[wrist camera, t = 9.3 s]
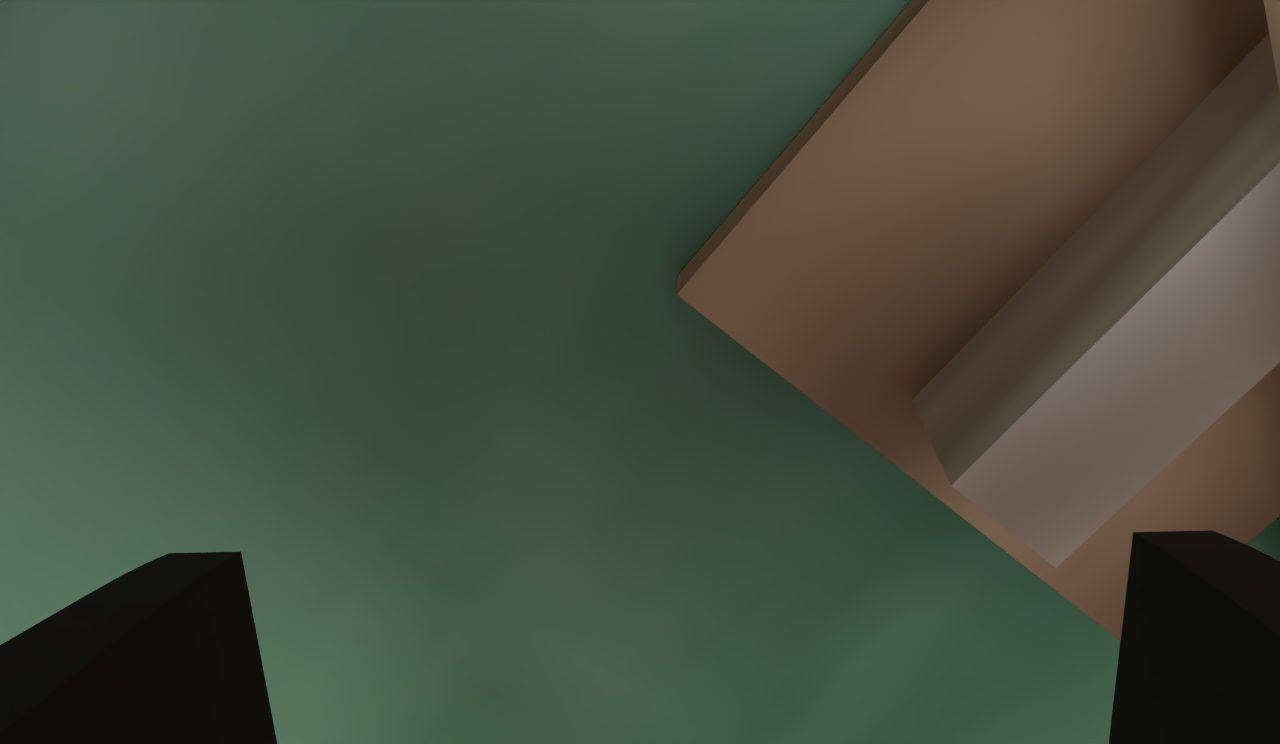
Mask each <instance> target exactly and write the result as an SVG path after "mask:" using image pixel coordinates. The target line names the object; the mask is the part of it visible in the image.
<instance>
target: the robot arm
mask: <svg viewBox="0 0 1280 744" xmlns="http://www.w3.org/2000/svg"><path fill="white" fill-rule="evenodd" d="M0 744H277V740H276V735H275V730H274V724H273V719H272V714H271V709H270V703H269V698H268V693H267V687H266V682H265V677H264V671H263V666H262V661H261V656H260V650H259V645H258V640H257V634H256V629H255V624H254V618H253V613H252V608H251V603H250V597H249V592H248V587H247V581H246V576H245V571H244V565H243V560H242V555H241V552H209V553H169V554H166V555H164V556H162V557H160V558H157V559H155V560H153V561H150V562H148V563H146V564H144V565H142V566H140V567H138V568H136V569H134V570H132V571H130V572H128V573H126V574H124V575H122V576H120V577H119V578H117V579H115V580H113V581H111V582H109V583H108V584H106V585H104V586H102V587H100V588H99V589H97V590H95V591H93V592H92V593H90V594H88V595H86V596H85V597H83V598H81V599H79V600H78V601H76V602H74V603H72V604H71V605H69V606H67V607H65V608H64V609H62V610H60V611H59V612H57V613H55V614H53V615H52V616H50V617H48V618H46V619H45V620H43V621H41V622H40V623H38V624H36V625H34V626H33V627H31V628H29V629H28V630H26V631H24V632H22V633H21V634H19V635H17V636H15V637H14V638H12V639H10V640H9V641H7V642H5V643H3V644H2V645H0ZM1109 744H1280V562H1279V561H1277V560H1276V559H1274V558H1272V557H1270V556H1268V555H1266V554H1264V553H1262V552H1260V551H1258V550H1256V549H1254V548H1252V547H1250V546H1248V545H1245V544H1243V543H1241V542H1239V541H1237V540H1235V539H1232V538H1230V537H1227V536H1225V535H1222V534H1220V533H1218V532H1215V531H1212V530H1208V531H1163V532H1133V537H1132V546H1131V555H1130V563H1129V572H1128V581H1127V590H1126V598H1125V607H1124V616H1123V624H1122V633H1121V642H1120V651H1119V659H1118V668H1117V677H1116V686H1115V694H1114V703H1113V712H1112V720H1111V729H1110V738H1109Z"/></svg>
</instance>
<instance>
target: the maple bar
mask: <svg viewBox="0 0 1280 744" xmlns="http://www.w3.org/2000/svg"><path fill="white" fill-rule="evenodd" d="M1264 6H1265V12H1266V17H1267V23H1268V29H1269V35H1270V40H1271V46H1272V52H1273V57H1274V63H1275V69H1276V74H1277V80H1278V86H1279V91H1280V0H1264Z"/></svg>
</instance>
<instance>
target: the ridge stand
mask: <svg viewBox="0 0 1280 744" xmlns="http://www.w3.org/2000/svg"><path fill="white" fill-rule="evenodd" d="M677 295H678V296H679V297H680V298H682V299H683V300H684V301H686V302H687V303H688V304H689V305H691V306H692V307H693V308H695V309H696V310H697V311H698V312H700V313H701V314H702V315H703V316H705V317H706V318H707V319H709V320H710V321H711V322H712V323H714V324H715V325H716V326H718V327H719V328H720V329H721V330H723V331H724V332H725V333H727V334H728V335H729V336H730V337H732V338H733V339H734V340H735V341H737V342H738V343H739V344H741V345H742V346H743V347H744V348H746V349H747V350H748V351H750V352H751V353H752V354H753V355H755V356H756V357H757V358H759V359H760V360H761V361H762V362H764V363H765V364H766V365H768V366H769V367H770V368H771V369H773V370H774V371H775V372H776V373H778V374H779V375H780V376H782V377H783V378H784V379H785V380H787V381H788V382H789V383H791V384H792V385H793V386H794V387H796V388H797V389H798V390H800V391H801V392H802V393H803V394H805V395H806V396H807V397H808V398H810V399H811V400H812V401H814V402H815V403H816V404H817V405H819V406H820V407H821V408H823V409H824V410H825V411H826V412H828V413H829V414H830V415H832V416H833V417H834V418H835V419H837V420H838V421H839V422H840V423H842V424H843V425H844V426H846V427H847V428H848V429H849V430H851V431H852V432H853V433H855V434H856V435H857V436H858V437H860V438H861V439H862V440H864V441H865V442H866V443H867V444H869V445H870V446H871V447H873V448H874V449H875V450H876V451H878V452H879V453H880V454H881V455H883V456H884V457H885V458H887V459H888V460H889V461H890V462H892V463H893V464H894V465H896V466H897V467H898V468H899V469H901V470H902V471H903V472H905V473H906V474H907V475H908V476H910V477H911V478H912V479H913V480H915V481H916V482H917V483H919V484H920V485H921V486H922V487H924V488H925V489H926V490H928V491H929V492H930V493H931V494H933V495H934V496H935V497H937V498H938V499H939V500H940V501H942V502H943V503H944V504H945V505H947V506H948V507H949V508H951V509H952V510H953V511H954V512H956V513H957V514H958V515H960V516H961V517H962V518H963V519H965V520H966V521H967V522H969V523H970V524H971V525H972V526H974V527H975V528H976V529H978V530H979V531H980V532H981V533H983V534H984V535H985V536H986V537H988V538H989V539H990V540H992V541H993V542H994V543H995V544H997V545H998V546H999V547H1001V548H1002V549H1003V550H1004V551H1006V552H1007V553H1008V554H1010V555H1011V556H1012V557H1013V558H1015V559H1016V560H1017V561H1018V562H1020V563H1021V564H1022V565H1024V566H1025V567H1026V568H1027V569H1029V570H1030V571H1031V572H1033V573H1034V574H1035V575H1036V576H1038V577H1039V578H1040V579H1042V580H1043V581H1044V582H1045V583H1047V584H1048V585H1049V586H1050V587H1052V588H1053V589H1054V590H1056V591H1057V592H1058V593H1059V594H1061V595H1062V596H1063V597H1065V598H1066V599H1067V600H1068V601H1070V602H1071V603H1072V604H1074V605H1075V606H1076V607H1077V608H1079V609H1080V610H1081V611H1083V612H1084V613H1085V614H1086V615H1088V616H1089V617H1090V618H1091V619H1093V620H1094V621H1095V622H1097V623H1098V624H1099V625H1100V626H1102V627H1103V628H1104V629H1106V630H1107V631H1108V632H1109V633H1111V634H1112V635H1113V636H1115V637H1116V638H1117V639H1118V640H1120V641H1121V633H1122V624H1123V616H1124V607H1125V598H1126V590H1127V581H1128V572H1129V563H1130V555H1131V546H1132V537H1133V532H1163V531H1208V530H1212V531H1215V532H1218V533H1220V534H1222V535H1225V536H1227V537H1230V538H1232V539H1235V540H1237V541H1239V542H1241V543H1243V544H1245V545H1247V544H1248V543H1249V542H1250V541H1251V540H1252V539H1253V538H1255V537H1256V536H1257V535H1258V534H1259V533H1260V532H1262V531H1263V530H1264V529H1265V528H1266V527H1267V526H1268V525H1270V524H1271V523H1272V522H1273V521H1274V520H1275V519H1276V518H1278V517H1279V516H1280V91H1279V86H1278V80H1277V74H1276V69H1275V63H1274V57H1273V52H1272V46H1271V40H1270V35H1269V29H1268V23H1267V17H1266V12H1265V6H1264V0H912V1H911V2H910V3H909V4H908V5H907V7H906V8H905V9H904V10H903V11H902V12H901V14H900V15H899V16H898V17H897V18H896V20H895V21H894V22H893V23H892V24H891V25H890V27H889V28H888V29H887V30H886V31H885V32H884V34H883V35H882V36H881V37H880V38H879V39H878V41H877V42H876V43H875V44H874V45H873V47H872V48H871V49H870V50H869V51H868V52H867V54H866V55H865V56H864V57H863V58H862V59H861V61H860V62H859V63H858V64H857V65H856V67H855V68H854V69H853V70H852V71H851V72H850V74H849V75H848V76H847V77H846V78H845V79H844V81H843V82H842V83H841V84H840V85H839V86H838V88H837V89H836V90H835V91H834V92H833V94H832V95H831V96H830V97H829V98H828V99H827V101H826V102H825V103H824V104H823V105H822V106H821V108H820V109H819V110H818V111H817V112H816V114H815V115H814V116H813V117H812V118H811V119H810V121H809V122H808V123H807V124H806V125H805V126H804V128H803V129H802V130H801V131H800V132H799V133H798V135H797V136H796V137H795V138H794V139H793V141H792V142H791V143H790V144H789V145H788V146H787V148H786V149H785V150H784V151H783V152H782V153H781V155H780V156H779V157H778V158H777V159H776V160H775V162H774V163H773V164H772V165H771V166H770V168H769V169H768V170H767V171H766V172H765V173H764V175H763V176H762V177H761V178H760V179H759V180H758V182H757V183H756V184H755V185H754V186H753V188H752V189H751V190H750V191H749V192H748V193H747V195H746V196H745V197H744V198H743V199H742V200H741V202H740V203H739V204H738V205H737V206H736V207H735V209H734V210H733V211H732V212H731V213H730V215H729V216H728V217H727V218H726V219H725V220H724V222H723V223H722V224H721V225H720V226H719V227H718V229H717V230H716V231H715V232H714V233H713V235H712V236H711V237H710V238H709V239H708V240H707V242H706V243H705V244H704V245H703V246H702V247H701V249H700V250H699V251H698V252H697V253H696V254H695V256H694V257H693V258H692V259H691V260H690V262H689V263H688V264H687V265H686V266H685V267H684V269H683V270H682V271H681V272H680V273H679V274H678V276H677Z"/></svg>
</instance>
